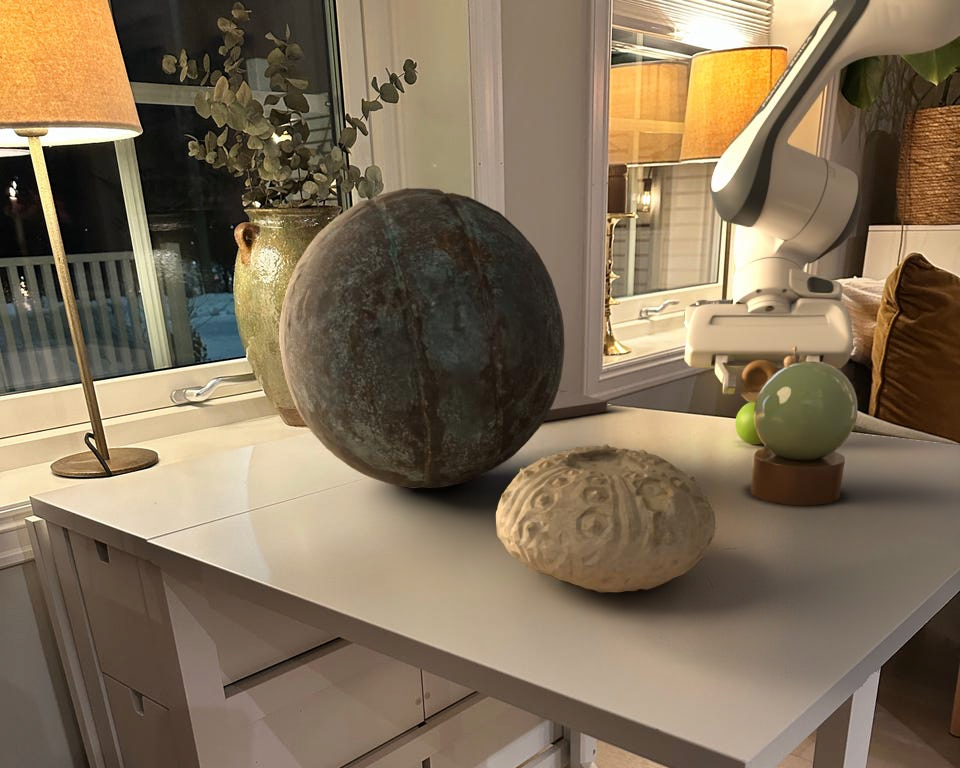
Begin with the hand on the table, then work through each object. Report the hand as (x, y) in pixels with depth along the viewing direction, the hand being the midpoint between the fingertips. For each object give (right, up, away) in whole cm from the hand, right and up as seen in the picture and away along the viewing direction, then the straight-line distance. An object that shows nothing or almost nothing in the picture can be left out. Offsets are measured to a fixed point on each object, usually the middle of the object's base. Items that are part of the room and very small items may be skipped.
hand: (765, 392), depth 113 cm
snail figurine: (0, -6, +3) cm, 7 cm away
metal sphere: (-41, -13, -10) cm, 44 cm away
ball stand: (-2, -15, -16) cm, 22 cm away
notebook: (-29, +3, +23) cm, 37 cm away
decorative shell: (-25, -25, -36) cm, 51 cm away
